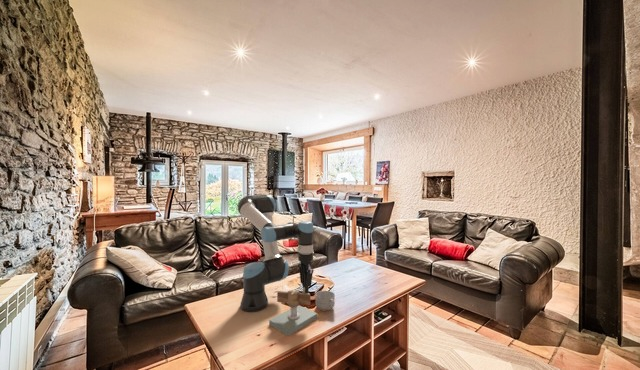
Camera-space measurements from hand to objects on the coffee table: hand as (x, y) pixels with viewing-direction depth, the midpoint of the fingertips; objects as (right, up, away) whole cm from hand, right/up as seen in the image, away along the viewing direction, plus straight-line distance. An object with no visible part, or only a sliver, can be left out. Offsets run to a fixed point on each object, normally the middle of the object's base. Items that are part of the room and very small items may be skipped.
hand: (305, 298), depth 133 cm
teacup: (+11, -11, +11) cm, 19 cm away
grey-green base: (-6, -11, -1) cm, 13 cm away
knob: (-6, -2, -1) cm, 7 cm away
